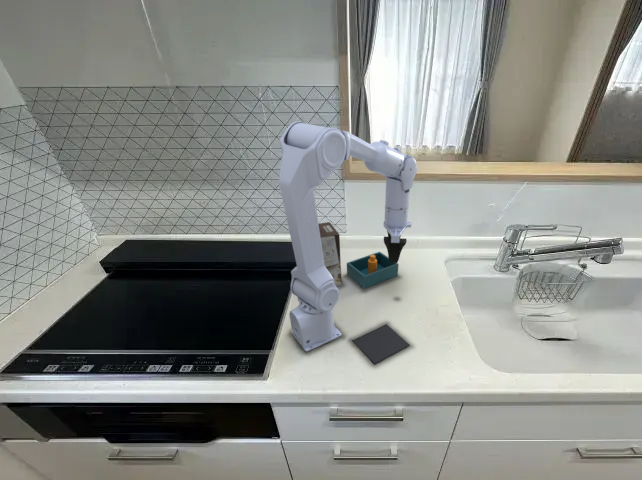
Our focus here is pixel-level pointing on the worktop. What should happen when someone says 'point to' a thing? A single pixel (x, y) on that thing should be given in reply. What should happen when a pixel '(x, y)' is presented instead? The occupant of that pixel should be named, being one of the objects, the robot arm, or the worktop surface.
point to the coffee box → (331, 250)
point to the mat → (380, 343)
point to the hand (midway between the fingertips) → (393, 254)
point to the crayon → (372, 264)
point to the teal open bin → (383, 273)
